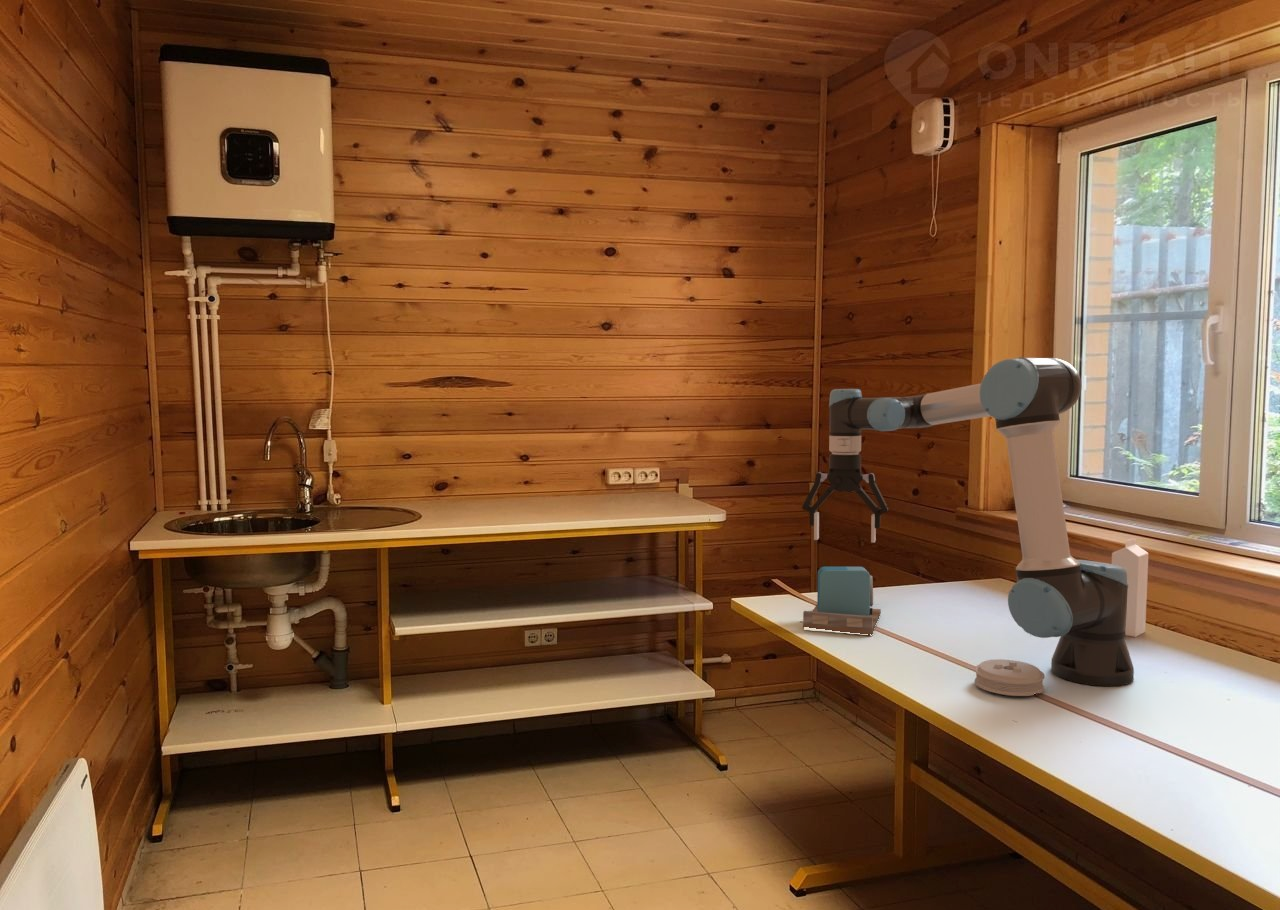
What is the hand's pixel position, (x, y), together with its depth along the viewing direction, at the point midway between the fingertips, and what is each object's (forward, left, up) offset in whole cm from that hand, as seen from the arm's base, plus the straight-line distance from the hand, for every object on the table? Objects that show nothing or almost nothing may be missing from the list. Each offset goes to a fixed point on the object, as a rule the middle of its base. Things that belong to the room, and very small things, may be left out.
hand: (844, 540), depth 233 cm
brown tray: (0, 0, -20) cm, 20 cm away
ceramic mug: (+19, -1, -21) cm, 28 cm away
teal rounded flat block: (0, 0, -19) cm, 19 cm away
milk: (+12, -64, -21) cm, 68 cm away
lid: (-38, -37, -21) cm, 57 cm away
